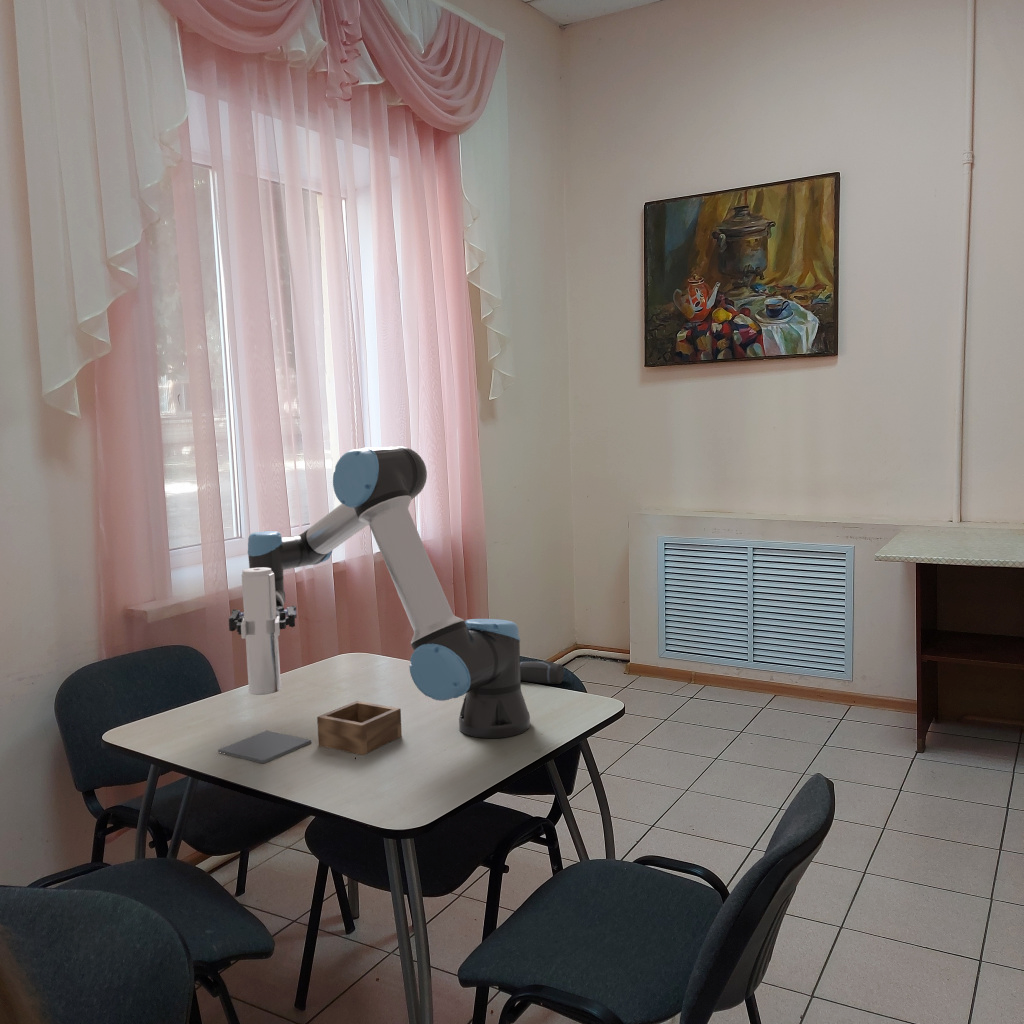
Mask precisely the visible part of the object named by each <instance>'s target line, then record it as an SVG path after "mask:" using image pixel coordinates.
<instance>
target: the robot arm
mask: <svg viewBox="0 0 1024 1024" xmlns="http://www.w3.org/2000/svg"><path fill="white" fill-rule="evenodd" d="M424 461H425V460H423V458H422V457H421V455H419V453H417V452H416V451H415V450H413V449H412V448H409V447H406V446H403V445H402V446H400V445H399V446H395V445H394V446H388V447H387V446H384V447H383V446H382V447H366V446H365V447H360V448H358V449H351V450H348V451H347V452H345V453H343V455H341V456H340V458H339V459H338V460H337V462H336V464H335V467H334V472H333V473H332V487H333V491H334V494H335V497H336V498H337V500H338V502H340V503H341V504H339V505H338V506H336V507H335V508H334V509H333V510H331V511H330V512H328V513H327V514H326V515H325V516H323V517H322V518H321V519H319V520H318V521H316V523H314V524H313V525H311V526H310V527H309V528H307V529H306V530H304V531H303V532H302V533H301V534H298V535H292V536H287V537H286V536H285V537H282V534H281V533H280V531H275V530H269V531H268V530H267V531H256V532H252V533H250V534H249V536H248V542H247V556H248V569H249V568H261V567H265V568H271V572H274V577H275V594H276V611H277V618H276V619H275V636H278V637H280V632H281V630H285V629H286V628H287V626H288V627H290V628H294V627H296V619H297V606H296V605H291V606H289V607H286V609H285V606H284V605H285V602H286V593H285V585H284V583H285V582H284V571H286V570H291V569H295V568H296V569H297V568H301V567H306V566H307V567H308V566H314V565H319V564H321V563H324V562H326V561H328V560H329V559H330V558H331V556H332V554H333V551H334V550H335V549H336V548H338V547H339V546H340V545H342V544H343V543H345V542H346V541H348V540H349V539H351V538H352V537H353V536H354V535H356V534H357V533H359V532H360V531H362V530H363V529H364V528H366V527H367V526H369V528H370V530H371V532H372V535H373V538H374V540H375V541H376V544H377V547H378V549H379V551H380V552H379V553H380V555H381V557H382V559H383V561H384V563H385V566H386V568H387V570H388V572H389V575H390V578H391V580H392V582H393V585H394V587H395V589H396V593H397V595H398V598H399V600H400V602H401V604H402V607H403V608H404V611H405V614H406V616H407V618H408V621H409V623H410V625H411V627H412V630H413V635H412V638H411V639H410V640H411V641H410V645H411V648H412V650H413V652H412V654H411V656H410V659H409V662H410V663H409V674H410V677H411V680H412V681H413V683H414V685H415V686H416V688H417V689H418V690H419V692H421V693H422V694H423V695H424V696H426V697H428V698H431V699H432V700H434V701H438V702H439V701H440V702H442V701H443V702H445V701H449V700H452V699H457V698H459V697H462V696H464V699H463V702H462V705H461V709H460V712H459V717H458V727H459V731H460V732H461V733H463V734H464V735H467V736H470V737H475V738H480V739H481V738H482V739H483V738H484V739H498V738H500V739H501V738H508V737H512V736H513V735H514V736H517V735H520V734H523V733H524V731H525V732H527V731H528V730H529V729H530V727H531V716H530V712H529V711H528V707H527V704H526V700H525V699H524V698H525V697H524V696H523V692H522V688H521V682H522V681H521V680H520V662H521V654H520V652H521V650H520V649H521V648H520V647H521V646H520V643H521V638H520V631H519V626H518V624H517V623H516V622H514V621H511V620H506V619H497V618H471V619H465V620H464V618H461V617H458V616H456V615H454V613H453V611H452V608H451V606H450V603H449V602H448V599H447V596H446V594H445V592H444V590H443V587H442V585H441V583H440V581H439V578H438V576H437V574H436V571H435V568H434V566H433V564H432V562H431V559H430V557H429V554H428V551H427V549H426V548H425V545H424V543H423V541H422V538H421V536H420V534H419V531H418V529H417V527H416V523H414V519H413V518H412V516H411V515H412V514H411V513H410V511H409V507H410V504H411V501H412V500H414V499H415V498H416V497H418V495H419V494H420V493H421V492H422V491H423V489H424V487H425V486H426V483H427V479H428V471H427V466H426V464H425V462H424ZM230 612H231V615H230V616H229V617H228V626H229V627H228V632H229V631H230V632H235V631H236V632H237V634H238V635H241V636H240V637H241V639H242V640H243V639H245V640H246V636H247V629H246V621H245V619H244V611H243V612H242V611H241V610H238V609H235V608H234V609H232V610H231V611H230ZM528 728H529V729H528ZM527 729H528V730H527ZM522 732H523V733H522Z"/></svg>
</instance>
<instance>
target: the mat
mask: <svg viewBox="0 0 1024 1024" xmlns="http://www.w3.org/2000/svg"><path fill="white" fill-rule="evenodd" d="M309 744H312V740H311V739H309V738H304V737H299V736H294V735H290V734H286V733H282V732H276V731H272V730H265V731H261V732H260V733H257V734H254V735H252V736H249V737H246V738H245V739H244V738H243V739H242V740H239V741H236V742H234V743H231V744H229V745H226V746H224V747H222V748H219V749H217V753H218V752H221V753H220V754H222V753H225V754H224V755H227V754H228V756H231V757H235V758H240V759H244V760H248V761H252V762H256V763H259V764H266V763H268V762H270V761H273V760H275V759H277V758H279V757H282V756H284V755H287V754H289V753H292V752H293V751H295V750H296V751H297V750H298V749H300V748H303V747H305V746H308V745H309Z"/></svg>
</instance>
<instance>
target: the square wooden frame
mask: <svg viewBox="0 0 1024 1024" xmlns="http://www.w3.org/2000/svg"><path fill="white" fill-rule="evenodd" d="M401 715H402V713H401V708H399V707H394V706H389V705H382V704H378V703H372V702H365V701H359V700H355V701H353V702H350V703H348V704H345V705H343V706H340V707H337V708H336V709H333V710H331V711H328V712H326V713H323V714H321V715H318V716H317V717H316V721H317V737H318V738H317V739H318V741H317V742H318V743H317V744H318V746H320V747H325V748H328V749H333V750H338V751H342V752H343V751H344V752H348V753H352V754H357V755H361V756H365V755H367V754H368V753H371V752H373V751H375V750H377V749H379V748H381V747H383V746H385V745H388V744H390V743H392V742H393V741H396V740H397V739H399V738H402V737H403V734H402V716H401Z"/></svg>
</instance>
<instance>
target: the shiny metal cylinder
mask: <svg viewBox="0 0 1024 1024" xmlns="http://www.w3.org/2000/svg"><path fill="white" fill-rule="evenodd" d="M241 572H242V574H241V588H242V602H243V612H244V619H245V621H246V629H247V636H246V639H245V651H246V667H247V669H246V670H247V681H248V690H247V691H248V693H249V694H251V695H254V696H255V695H256V696H259V695H260V696H263V695H271V694H275V693H277V692H280V691H281V690H282V682H281V680H282V679H281V668H280V667H281V665H280V651H279V650H280V648H279V645H280V644H279V636H275V619H276V618H277V611H276V594H275V577H274V572H271V568H265V567H261V568H249V567H248V568H245V569H242V571H241Z"/></svg>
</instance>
